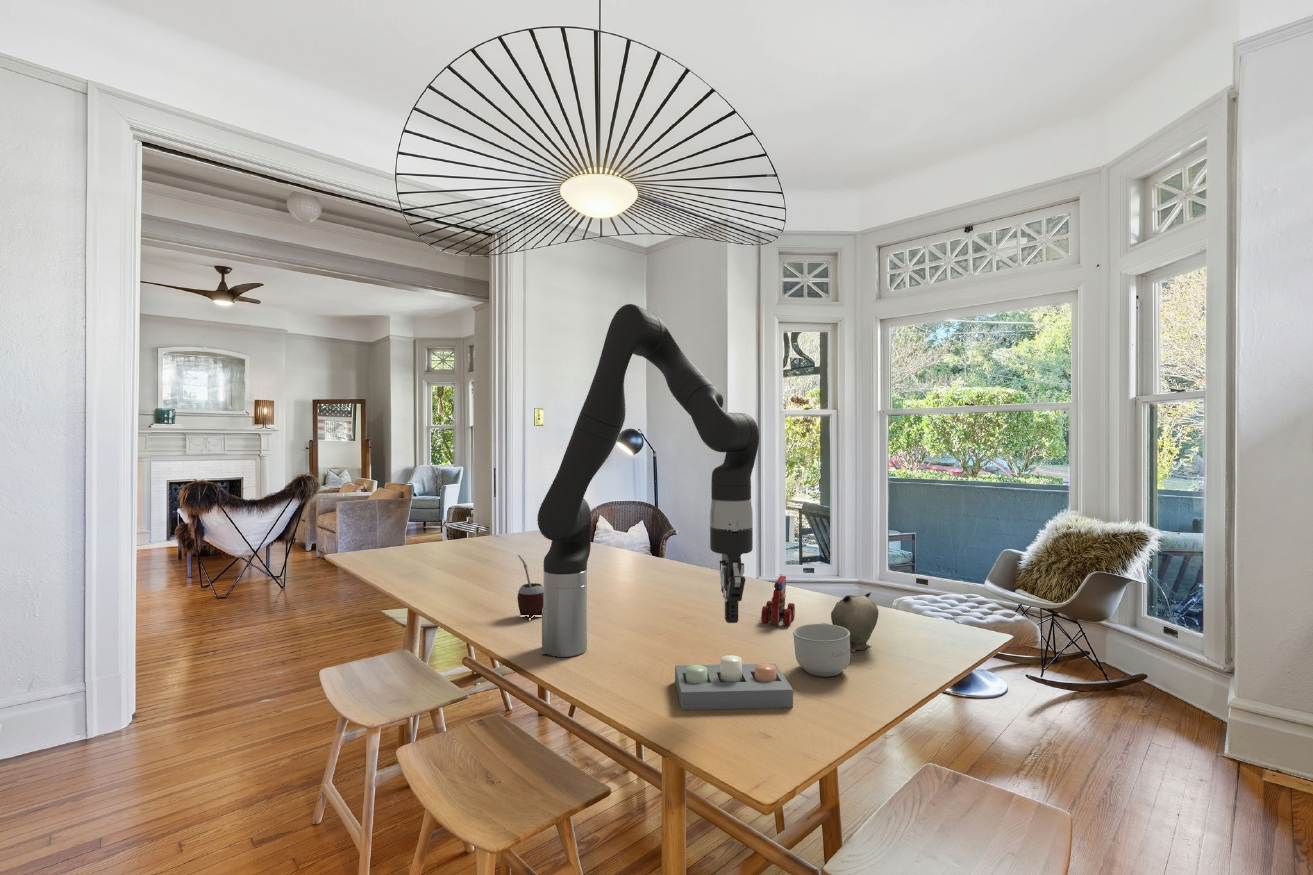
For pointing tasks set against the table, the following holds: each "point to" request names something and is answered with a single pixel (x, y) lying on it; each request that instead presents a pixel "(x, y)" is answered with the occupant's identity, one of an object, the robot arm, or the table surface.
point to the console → (732, 690)
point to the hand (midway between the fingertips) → (731, 621)
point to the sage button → (696, 674)
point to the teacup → (822, 648)
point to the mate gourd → (530, 596)
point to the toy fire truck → (778, 605)
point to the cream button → (731, 669)
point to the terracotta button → (765, 672)
